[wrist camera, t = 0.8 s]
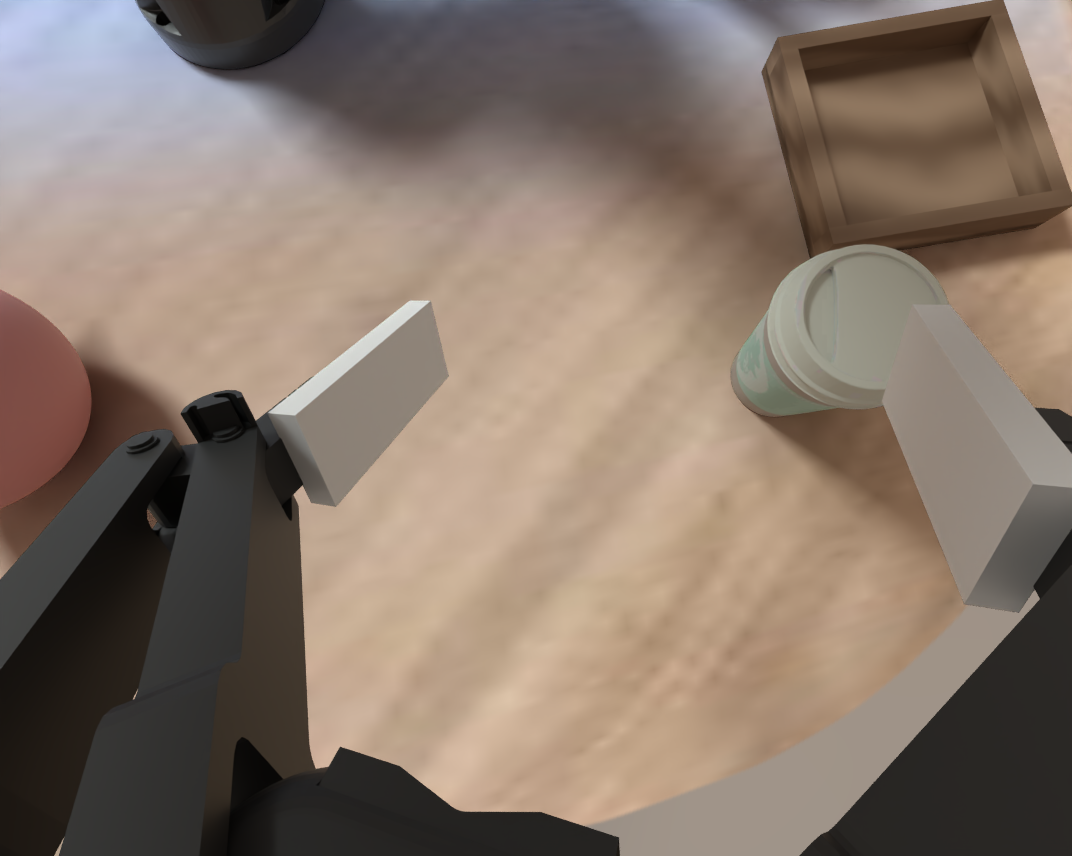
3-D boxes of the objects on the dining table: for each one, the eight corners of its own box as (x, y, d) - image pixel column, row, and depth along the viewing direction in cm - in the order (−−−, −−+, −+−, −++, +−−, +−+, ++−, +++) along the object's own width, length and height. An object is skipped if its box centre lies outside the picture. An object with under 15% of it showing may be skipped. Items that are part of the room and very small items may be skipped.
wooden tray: (761, 71, 41) (777, 37, 38) (970, 36, 40) (1002, -2, 37) (811, 264, 38) (833, 244, 35) (1034, 227, 38) (1075, 203, 35)
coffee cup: (754, 297, 38) (844, 201, 26) (856, 365, 37) (998, 297, 25) (687, 389, 37) (748, 332, 25) (788, 461, 36) (903, 437, 24)
